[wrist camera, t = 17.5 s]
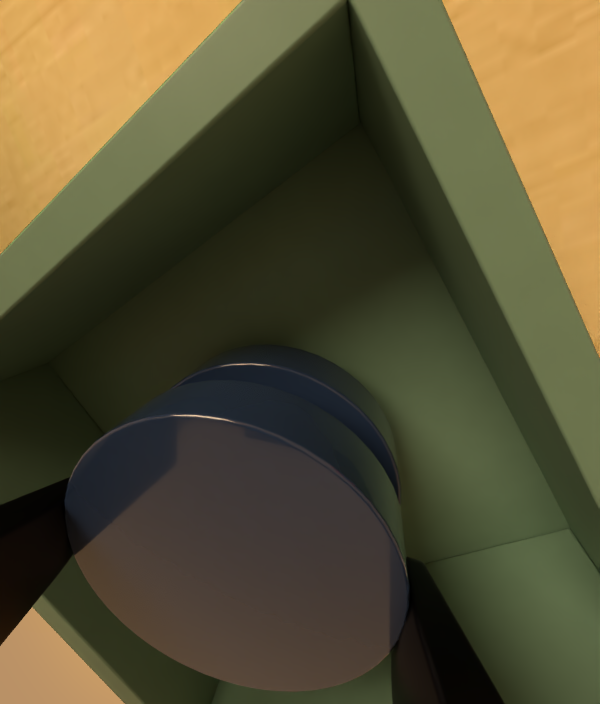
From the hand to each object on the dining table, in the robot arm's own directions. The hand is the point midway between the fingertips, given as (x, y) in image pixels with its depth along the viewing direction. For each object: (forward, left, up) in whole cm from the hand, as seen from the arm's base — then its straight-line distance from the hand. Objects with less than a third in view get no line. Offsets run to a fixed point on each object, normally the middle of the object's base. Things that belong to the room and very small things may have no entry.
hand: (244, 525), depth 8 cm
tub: (0, 0, -4) cm, 4 cm away
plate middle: (0, 0, -1) cm, 1 cm away
